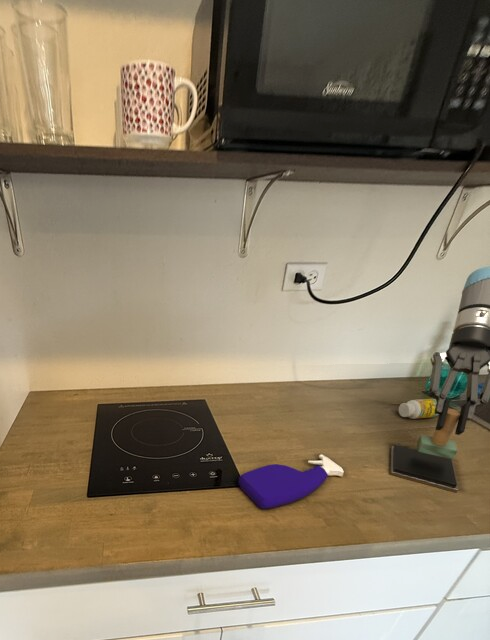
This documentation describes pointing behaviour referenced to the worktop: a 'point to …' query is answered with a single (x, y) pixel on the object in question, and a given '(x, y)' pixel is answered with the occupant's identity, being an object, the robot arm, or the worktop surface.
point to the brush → (441, 438)
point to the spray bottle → (285, 482)
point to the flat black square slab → (423, 468)
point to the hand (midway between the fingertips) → (449, 430)
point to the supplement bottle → (418, 408)
